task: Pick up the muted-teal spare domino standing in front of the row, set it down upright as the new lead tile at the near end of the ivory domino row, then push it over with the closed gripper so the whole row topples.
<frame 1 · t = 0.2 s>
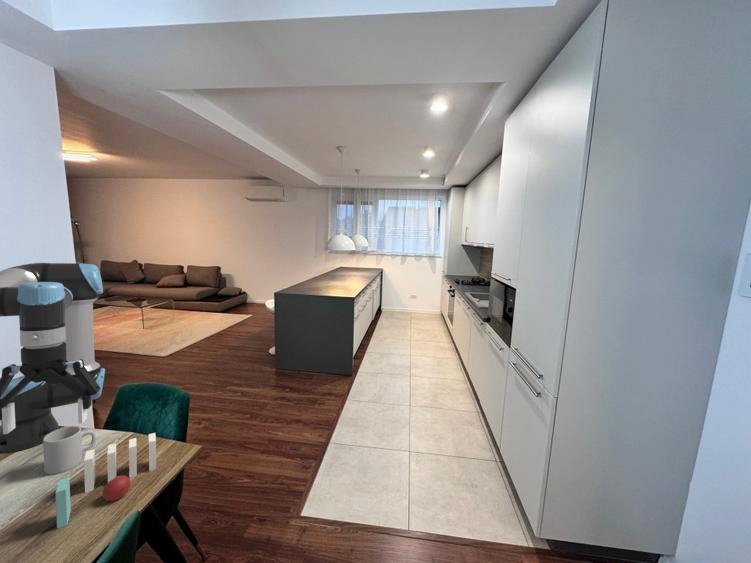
hand: (47, 425, 74), 27 cm above the table, fingers open, 13 cm apart
spare domino: (64, 519, 77), on the table
domino 1: (90, 485, 88), on the table
domino 4: (152, 465, 98), on the table
domino 3: (133, 471, 95), on the table
mug: (71, 462, 97), on the table
fruit: (119, 497, 85), on the table
domino 2: (112, 478, 92), on the table
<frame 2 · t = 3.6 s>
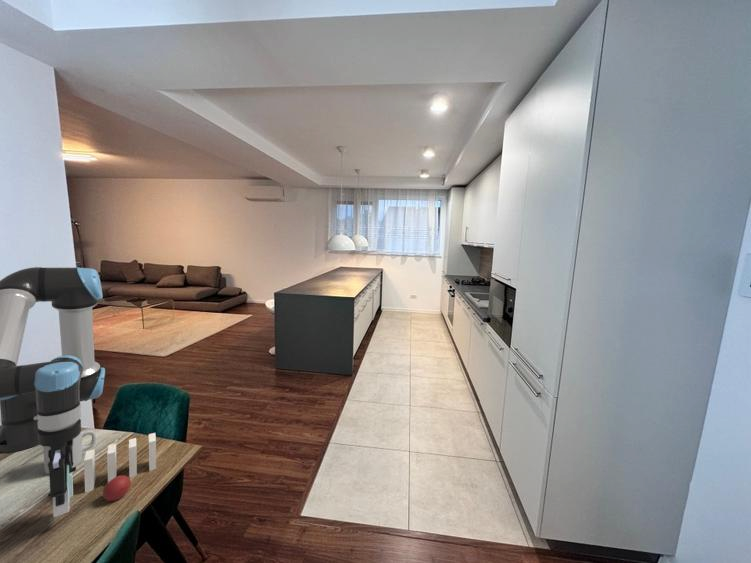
hand: (63, 505, 77), 4 cm above the table, fingers closed on spare domino, 5 cm apart
spare domino: (63, 506, 77), point 3 cm above the table, touching gripper
everything else where it was.
when the fingers open (0 cm above the table, at t = 7.9 s): spare domino stays where it is, on the table.
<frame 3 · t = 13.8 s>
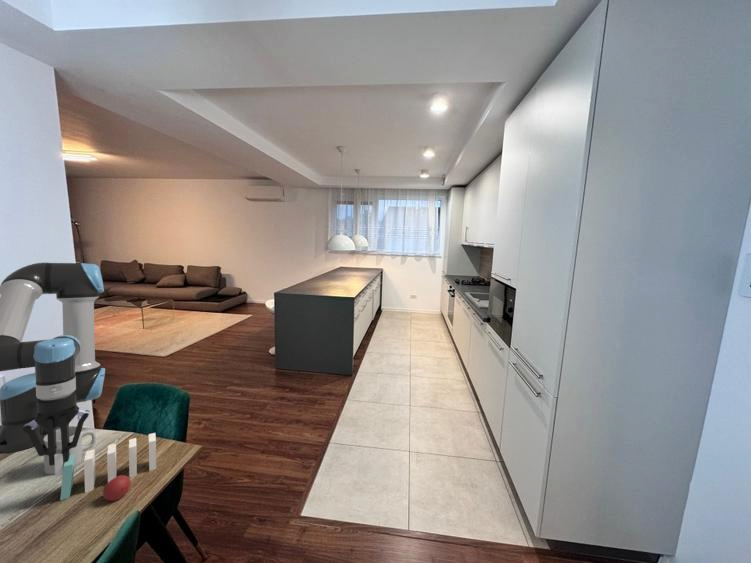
hand: (60, 472, 84), 7 cm above the table, fingers closed
spare domino: (66, 493, 85), on the table, tilted 5°
everything else where it was.
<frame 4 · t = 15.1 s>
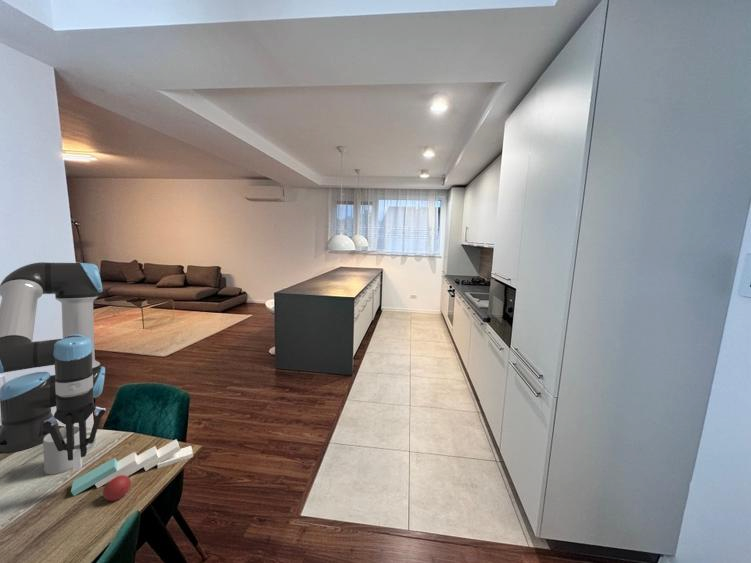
hand: (77, 467, 86), 7 cm above the table, fingers closed
spare domino: (73, 488, 86), point 1 cm above the table, tilted 70°, touching domino 1
domino 1: (96, 480, 89), point 1 cm above the table, tilted 70°, touching domino 2, spare domino
domino 4: (157, 462, 99), on the table, tilted 90°, touching domino 3
domino 3: (144, 464, 97), point 1 cm above the table, tilted 71°, touching domino 4
domino 2: (119, 473, 93), point 1 cm above the table, tilted 71°, touching domino 1
everything else where it was.
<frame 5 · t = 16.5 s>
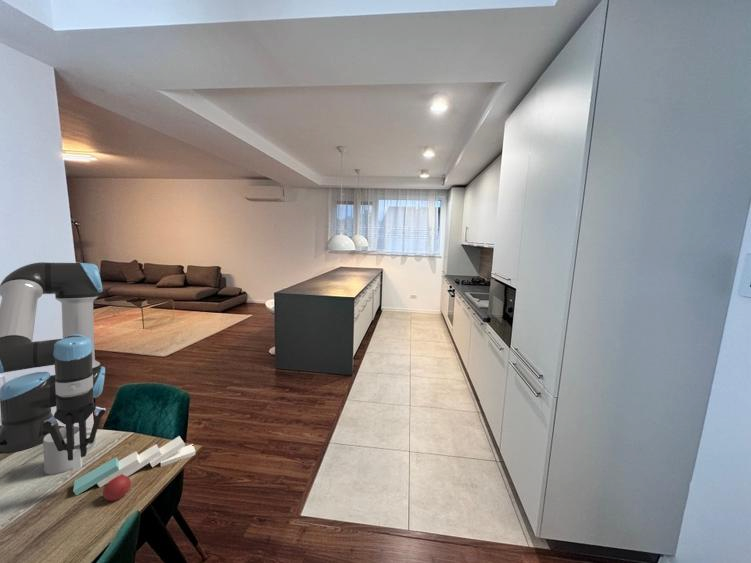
hand: (77, 467, 86), 7 cm above the table, fingers closed
domino 3: (149, 461, 98), point 1 cm above the table, tilted 72°, touching domino 4
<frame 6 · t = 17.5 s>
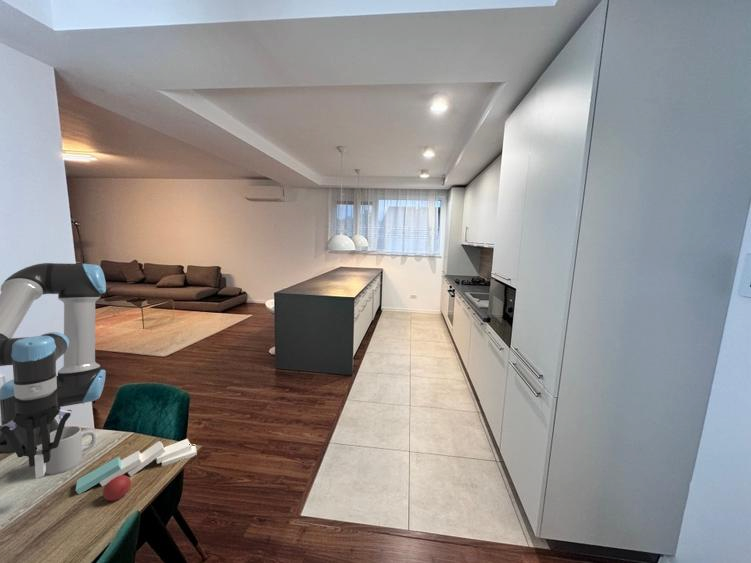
hand: (40, 474, 82), 8 cm above the table, fingers closed
domino 3: (155, 457, 99), point 2 cm above the table, tilted 89°, touching domino 2, domino 4
domino 2: (128, 470, 94), point 1 cm above the table, tilted 65°, touching domino 1, domino 3
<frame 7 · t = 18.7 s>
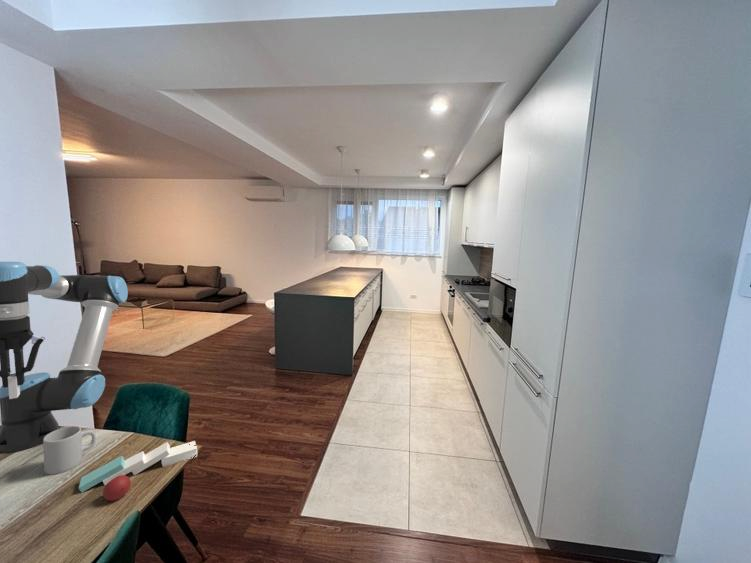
hand: (14, 396, 84), 28 cm above the table, fingers closed
domino 1: (104, 478, 90), point 1 cm above the table, tilted 72°, touching spare domino
domino 3: (161, 457, 99), point 2 cm above the table, tilted 90°, touching domino 2, domino 4
domino 2: (133, 468, 95), point 1 cm above the table, tilted 67°, touching domino 3
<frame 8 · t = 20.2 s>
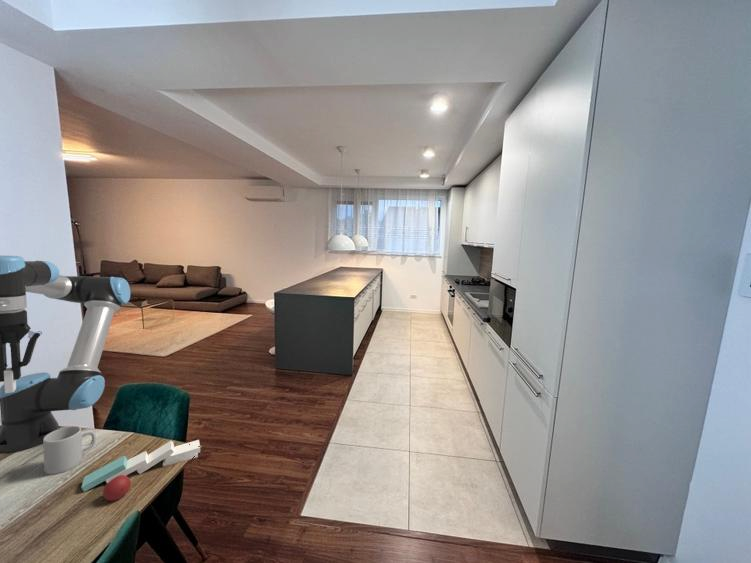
hand: (10, 390, 84), 29 cm above the table, fingers closed
domino 1: (107, 477, 91), point 1 cm above the table, tilted 73°, touching domino 2, spare domino
domino 3: (165, 455, 99), point 2 cm above the table, tilted 90°, touching domino 2, domino 4
domino 2: (138, 467, 96), point 1 cm above the table, tilted 65°, touching domino 1, domino 3
at the end: domino 4 tilted 90°; spare domino tilted 71°; spare domino inside the target area (0.4 cm from its centre), point 0.9 cm above the table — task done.
